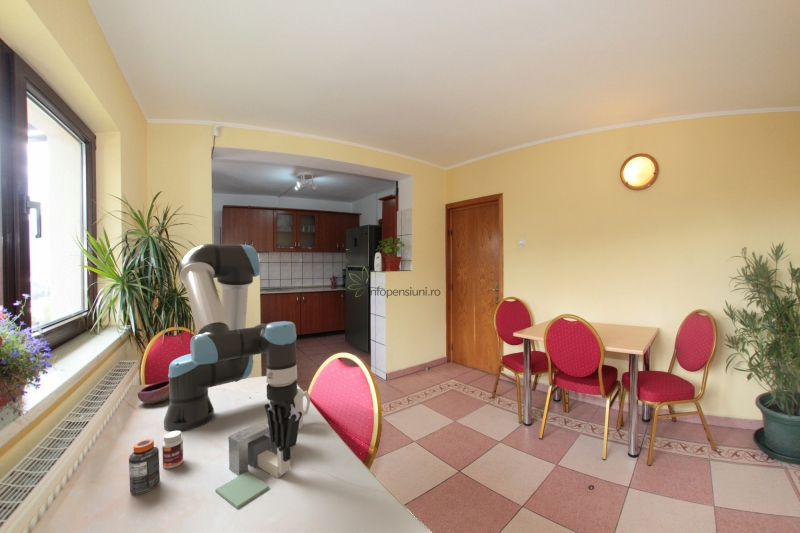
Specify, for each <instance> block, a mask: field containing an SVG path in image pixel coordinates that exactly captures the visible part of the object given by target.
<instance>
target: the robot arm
mask: <svg viewBox="0 0 800 533" xmlns="http://www.w3.org/2000/svg"><path fill="white" fill-rule="evenodd" d="M258 255H259V254H258V252H257V249H256V248H255V247H254V246H252V245H248V244H239V243H238V244H237V243H236V244H228V243H227V244H226V243H224V244H223V243H220V244H219V243H218V244H215V243H205V244H201V245H200V244H199V245H198V246H196V247H193V248H192V249H191V250H188V251H187V253H185V255H183V258H181V261H180V262H179V265H178V277H179V279H180V281H181V283H182V284H183V285H185V288H186V293H187V298H188V302H189V306H190V309H191V313H192V319H193V323H194V327H195V332H196V335H193V336H192V337H191V339H190V342H189V343H190V345H189V346H190V349H189V351H190V353H188V354H185V355H182V356H179V357H177V358H175V359H173V360H172V361H171V362H170V364H169V365H168V374H167V376H168V380H169V404H168V407H167V410H166V413H165V416H164V419H163V429H164V430H166V429H167V430H166V431H170V432H172V431H181V432H182V431H187V430H192V429H194V428H197V427H200V426H202V425H205V424H207V423H208V422H210V421H211V420H212V419H213V418H214V417H215V408H214V406H213V403H212V401H211V399H210V397H209V389H210V388H213V387H217V386H222V385H225V384H231V383H234V382H235V383H237V382H240V381H242V380H246V379H247V378H248V377H249V376H250V375H251V374H252V371H253V366H254V355H255V356H256V355H259V354H260V355H261V354H264V355H265V363H266V364H265V368H266V374H265V376H266V383H267V384H266V398H267V400H268V401H269V402H268V403H266V404H265V403H264V407H263V408H264V409H265V412H266V419H268V424H269V431H270V437H271V442H275V446H276V447H277V458H278V473H279V474H281V476H282V474H283V475H285V474H286V473H287V472H288V471H290V470H291V459H292V458H291V456H292V455H291V448H293V447H296V445H297V440H298V433H299V430H298V428H299V421H300V418H301V416H302V413H301V412H297V411H296V409H295V403H294V398H295V396H296V395H297V389H298V381H297V379H298V365H297V364H298V363H297V336H298V335H297V328H296V325H295V324H296V323H294V322H292V321H286V320H283V321H281V320H280V321H273V322H269V323H259V324H256V325H255V326H253V327H246V325H247V311H248V310H247V308H248V294H249V286H250V285H251V284H253V282H254V277H255V278H256V277H258V276H259V275H260V271H261V270H260V269H261V264H260V257H259V256H258ZM216 278H217V283H218V284H219V285H220V286H221V298H220V295H219V292H218V289H217V286H216V283H215V279H216ZM274 435H275V436H274ZM285 472H286V473H285Z"/></svg>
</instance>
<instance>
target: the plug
mask: <svg viewBox="0 0 800 533" xmlns="http://www.w3.org/2000/svg"><path fill="white" fill-rule="evenodd" d="M248 466H250V467H251V468H253V469H255V468H257V467H259V468H260V469H262V470H264V471H265V472H267V473H268V474H270V475H272V476H273V477H274V478H279V477H282V475H284V474H286V473H287V472H285V473H284V474H282V475H281V474H279V473H278V458H277V455H276V454H274V453H272V452H271V451H270V438H269V437H267V436H265V435H263V436H261V437H259V438H257V439H255V440H253V441H251V442H249V443H248Z"/></svg>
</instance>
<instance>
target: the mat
mask: <svg viewBox="0 0 800 533" xmlns="http://www.w3.org/2000/svg"><path fill="white" fill-rule="evenodd" d="M269 489H270V485H268V484H267V483H265V482H263V481H262V480H260V479H259V478H257V476H254V475H253V474H251V473H249V471H247V472H245V473H243V474H241V475H240V476H239V475H237V477H234V478H233V479H231V480H230V481H228V482H225V483H224V484H222V485H221V486H219V487H217V488H216V489H215V493H217V494H218V495H219V496H220V497H221V498H222V499H224V500H225V501H227V503H228V504H231V505H232V506H233V507H234V508H235V509H237V510H238V509H240V508H241V507H242V506H244V505H245V504H247V503H248V502H251V501H252V500H253V499H254V498H256V497H257V496H259V495H261V494H263V493H264V492H265V491H267V490H269Z"/></svg>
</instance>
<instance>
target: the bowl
mask: <svg viewBox="0 0 800 533" xmlns="http://www.w3.org/2000/svg"><path fill="white" fill-rule="evenodd" d="M137 397H138V400H139V401H141V402H142V403H144V404H151V403H152V404H156V403H157V402H158V403H160V402H164V401H166V400H167V399H168V398H169V399H170V397H169V379H166V380H163V381H159V382H155V383H152V384H149V385H147V386H145V387H143V388H142V389H140V390H139V391H138V393H137Z"/></svg>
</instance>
